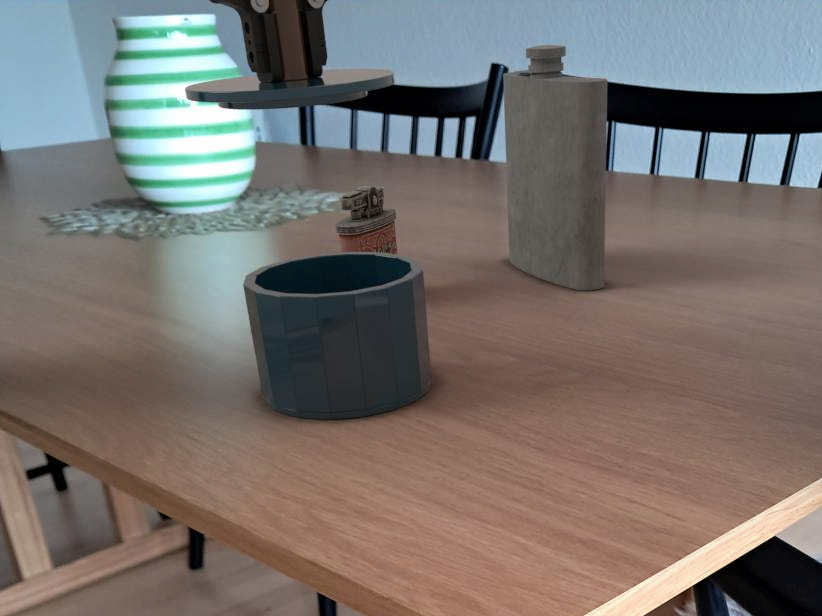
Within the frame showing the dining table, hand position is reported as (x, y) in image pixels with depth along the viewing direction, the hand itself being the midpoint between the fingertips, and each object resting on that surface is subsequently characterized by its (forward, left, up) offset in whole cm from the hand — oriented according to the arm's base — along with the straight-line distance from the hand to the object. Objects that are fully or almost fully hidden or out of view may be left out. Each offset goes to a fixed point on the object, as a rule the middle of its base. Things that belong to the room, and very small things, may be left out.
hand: (290, 77), depth 66 cm
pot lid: (0, 0, -1) cm, 1 cm away
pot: (+1, -1, -21) cm, 21 cm away
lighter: (+4, +24, -21) cm, 32 cm away
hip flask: (+22, +28, -21) cm, 41 cm away
